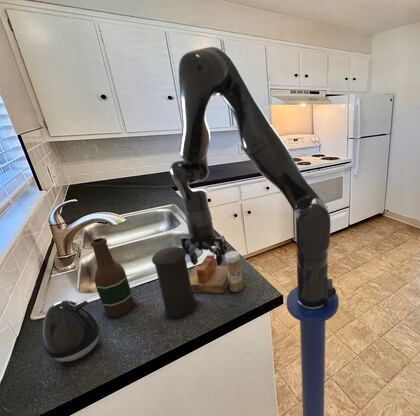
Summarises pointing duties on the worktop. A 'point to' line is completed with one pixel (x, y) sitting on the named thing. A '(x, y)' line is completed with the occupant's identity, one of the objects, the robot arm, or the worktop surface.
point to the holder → (206, 269)
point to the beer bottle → (111, 281)
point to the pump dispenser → (69, 331)
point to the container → (174, 281)
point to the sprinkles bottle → (234, 271)
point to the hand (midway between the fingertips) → (207, 263)
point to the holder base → (210, 281)
